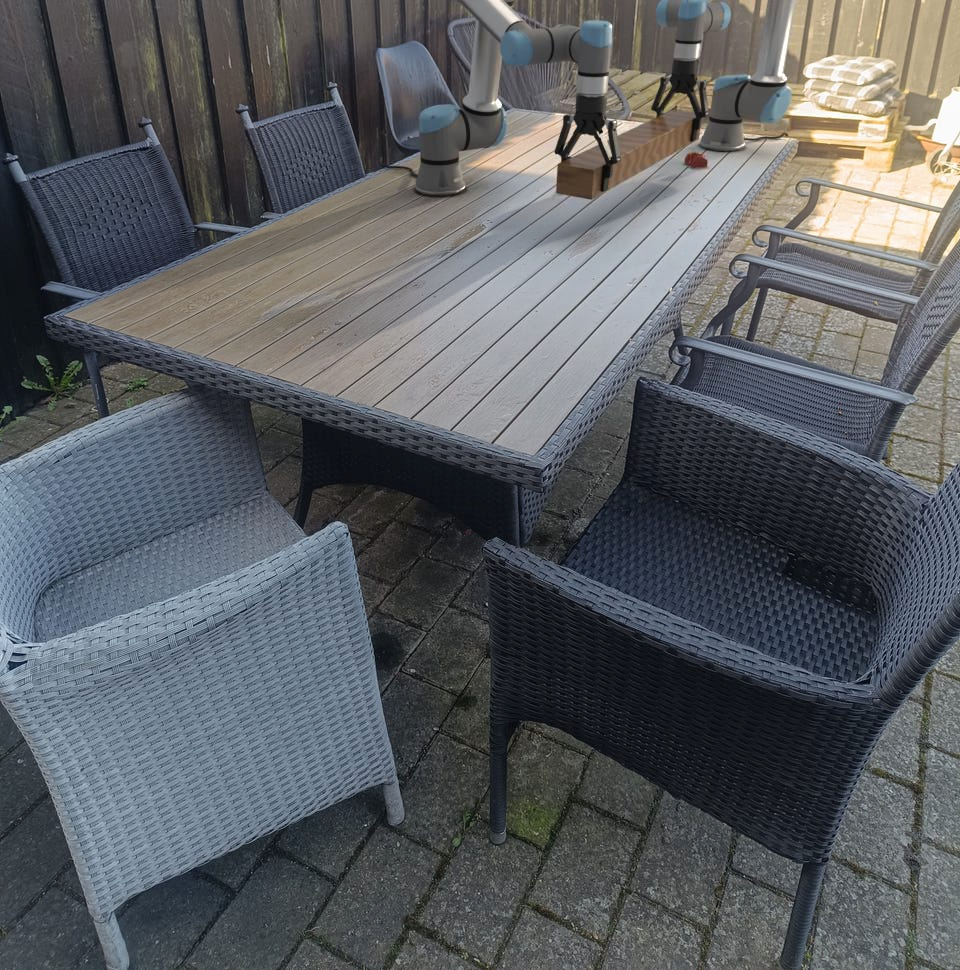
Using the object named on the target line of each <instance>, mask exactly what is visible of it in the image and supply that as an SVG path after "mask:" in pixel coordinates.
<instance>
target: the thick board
mask: <svg viewBox="0 0 960 970" xmlns="http://www.w3.org/2000/svg"><path fill="white" fill-rule="evenodd" d="M664 113H665V114H662V115H660V116H658V117H654V118H652V119H650V120H647V121H645V122H644V123H641V124H639V125H637V126H635V127H633V128H631V129H629V130H626V131H624V132H622V133H620V134H617V136H618V142H619V148H620V154H621V161H620V162H618V163H616V164H614V165H613V175H612V177H611V178H609V184H608V190H606V191H604V192H601V182H602V170H603V165H604V164H606V162H605V160H604V157H603V155H602V152H601V150H600V147H599V145H598V144H596V145H595V146H593V147H591V148H588V149H586V150H584V151H582V152H580V153H578V154H576V155H573V156H570V157H571V158H569V159H567V160H565V161H563V162H561V161H560V162H559V163H557V165H556V166H557V167H556V184H555V185H556V186H555V194H557V195H563V196H569V197H574V198H580V199H586V200H590V201H592V200H594V199H596V198H597V197H600V196H601V195H603V194H605V193H607V192H608V191H610V190H612V189H613V188H615V187H617V186H619V185H621V184H622V183H624V182H626V181H628V180H630V179H631V178H633V177H635V176H636V175H639V174H640V173H641V172H643V171H645V170H647V169H649V168H650V167H652V166H654V165H656V164H657V163H660V162H661V161H663V160H665V159H666V158H668V157H670V156H671V155H673V154H676V153H677V152H679V151H681V150H682V149H685V148H686V147H687V146H689V145H691V144H693V143H695V142H696V141H699V139H700V134H701V128H700V129H699V130H697V136H696V140H695V141H693V142H690V140H691V132H692V125H693V119H694V118H696V116H695V113H694V112H690V111H689V112H687V111H681V110H671V109H670V110H668V111H667V112H664ZM606 140H607V143H608V145H609V148H610V143H609V139H606ZM610 150H611V148H610Z"/></svg>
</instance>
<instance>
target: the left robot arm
mask: <svg viewBox="0 0 960 970" xmlns="http://www.w3.org/2000/svg"><path fill="white" fill-rule="evenodd" d="M452 1H453V2H454V4H456V5H458V6H461V7H464V8H465V9H466V10H467V11H468V12H469V13H470V14H471V15H472V16H473V17H474V19H475V21H474V32H473V43H472V52H471V53H472V54H471V63H470V64H471V65H470V72H469V73H470V75H469V84H468V94H466V95H465V96H464V97H463V98H462V106H461V108H458V106H457V105H455V104H449V103H446V104H437V105H432V106H429V107H426V108H425V109H423V110H422V111H421V112H420V114H419V116H418V118H419V119H418V136H419V138H418V139H419V157H420V158H419V159H420V161H419V162H420V164H419V168H418V172H417V173H415V172H414V170H413V168H411V167H408V166H402V165H389V164H388V165H387V164H384V163H382V162H383V157H382V156H380V157H379V160H378V164H379V165H380V167H382V168H386V169H401V170H408V171H410V173H411V175H412V177H415V178H416V180H415V192H417V193H418V194H420V195H424V196H430V197H450V196H455V195H459V194H461V193H463V192H464V191H466V181H465V179H464V176H463V172H462V169H461V165H460V152H466V151H472V150H480V149H489V148H491V147H495V146H498V145H499V144H500V143H502V141H503V140H504V138H505V136H506V133H507V129H508V120H507V112H506V111H505V109H504V107H503V106H502V102H501V101H500V99H499V97H498V95H499V89H500V79H501V71H502V70H501V69H502V62H503V63H504V64H505V65H507V66H508V67H518V68H519V67H520V68H521V67H525V66H534V65H542V64H552V63H554V64H555V63H562V62H563V63H564V62H572V63H574V64H575V63H576V64H577V78H576V93H577V94H576V95H575V108H574V109H575V112H574V114H572V113H570V112H569V113H566V114H565V115H563V116H562V126H561V129H560V133H559V136H558V139H557V143H556V145H555V148H554V154H555V155H557V156H559V157H560V163H561V162H563V161H565V160H567V159H569V158H571V157H572V156H570V154H571V153H572V151H573V149H574V147H576V144H577V143H578V141H579V139H580V138H581V136H582V135H584V136H585V135H588V136H591V137H593V138H594V140H596V142H597V145H599V147H600V150H601V152H602V155H603V157H604V160H605V162H606V164H604V165H603V170H602V182H601V192H604V191H606V190H608V184H609V178H611V177H612V175H613V165H614V164H616V163H618V162H620V161H621V154H620V148H619V142H618V131H617V129H618V120H617V119H613V120H612V119H607V116H606V113H607V105H608V96H607V93H608V90H609V77H610V66H611V55H612V46H613V24H612V23H611V22H609V21H607V20H600V19H598V20H597V19H592V20H585V21H582V22H581V23H580V27H579V26H575V25H572V24H568V23H567V24H564V23H561V24H556V25H555V26H554V27H543V28H542V27H541V28H532V27H531V26H530V25H529V24H528V23H527V22H526V21H525V20H524V19H523V18H522V17H521V16H520V15H519V14H518V13H517V12H516V11H515V10H514V9H513V7H514V6H515V1H516V0H452ZM573 123H575V125H576V127H575V129H574V130H573V133H572V135H571V137H570V138H569V140H568V137H569V133H570V131H571V127H572V125H573ZM605 126H606V128H605V129H606V130H607V136H608V139H607V138H606V132H605V131H604V127H605ZM567 140H568V141H567ZM607 140H609V143H610V148H611V150H610V148H609V145H608V143H607ZM608 191H609V190H608ZM606 192H607V191H606Z"/></svg>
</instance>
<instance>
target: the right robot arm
mask: <svg viewBox="0 0 960 970" xmlns="http://www.w3.org/2000/svg"><path fill="white" fill-rule="evenodd" d="M713 1H714V0H660V1H659V2H658V4H657V6H656V9H655V20H656V21H655V22H656V23H657V24H658V25H659V26H660V27H665V28H668V29H676V34H675V41H674V49H673V58H674V59H673V60H672V66H671V75H670V76H667V75H663V76H661V77H660V79H659V80H660V82H659V87H658V89H657V92H656V95H655V97H654V100H653V102H652V105H651V107H650V109H651V111H653V112H655V113H656V117H658V116H660V115H662V114H665V113H666V112H664V111H665V109H666V108H667V106H668V105H669V103H670V102H671V100H672V99H673V98H674V96H675V94H683V95H686V96H687V98H688V99H689V102H690V105H691V108H692V110H693V113H695V116H696V118H694V119H693V125H692V132H691V140H690V142H693V141H695V140H696V136H697V130H699V129H700V130H701V128H702V121H703V118H706V117H709V118H708V123H707V125H706V127H705V130H704V132H703V134H702V136H701V138H700V142H699V145H700V147H702V148H704V149H705V150H706V149H707V150H711V151H715V152H716V151H717V152H736V151H741V150H743V149H744V148H745V143H746V142H745V141H752V142H756V141H759V140H777V139H781V138H783V137H784V136H785V137H789V134H788V133H787V132H782V133H781V134H780V135H778V136H758V137H755V138H753V137H745V136H744V126H743V123H744V120H750V121H755V122H760V123H762V124H765V123H766V124H775V123H777V122H779V121H780V120H781V119H782V118H783V117H784V115H785V114H786V113H787V111H788V108H789V107H790V103H791V101H792V89H791V88H790V87H789V86H787V83H788V78H787V76H786V75H785V74H784V73H785V66H786V60H787V56H788V49H789V43H790V38H791V33H792V28H793V21H794V16H795V9H796V4H797V0H767V3H766V10H765V16H764V22H763V28H762V35H761V41H760V45H759V53H758V59H757V66H756V71H755V73H754V74H753V75H750V74H729V75H722V76H719V77H717V78H716V79H715V81H714V85H713V90H712V95H711V96H712V97H711V104H710V110H709V102H708V95H707V94H708V93H707V85H708V80H706V79H704V80H700V79H698V73H699V72H698V71H699V65H700V61H699V58H700V56H701V51H702V49H701V48H702V43H703V35H704V34H709V33H710V34H711V33H718V32H720V31H723V30H724V29H726V28H727V27H728V26H729V24H730V22H731V19H732V11H731V8H730V6H729V5H728V4H727V3H726V2H723V1H715V2H713ZM669 83H670V85H671V88H670V89H669V91H668V93H667V94H666V96H665V97H664V99H663V96H664V93H665V92H666V89H667V85H669ZM696 86H697V89H698V95H699V100H698V98H697V94H696V90H695V87H696ZM662 99H663V100H662ZM661 101H662V102H661ZM656 117H655V118H656ZM696 141H697V140H696ZM696 141H695V142H696ZM693 143H694V142H693Z"/></svg>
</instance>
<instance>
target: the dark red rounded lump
mask: <svg viewBox="0 0 960 970" xmlns="http://www.w3.org/2000/svg"><path fill="white" fill-rule="evenodd" d="M683 162H684V165H686V164H690V168H691V169H699V168H707V167H708V164H709V163H708V159H707V158H706V155H704V154H702V153H699V152H697V151H691V152H689V153H687V154H686V155H685V157H684V161H683Z"/></svg>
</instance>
